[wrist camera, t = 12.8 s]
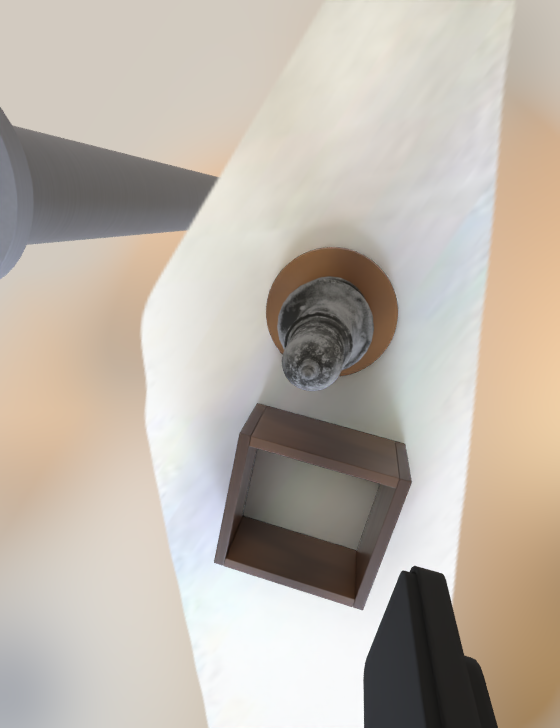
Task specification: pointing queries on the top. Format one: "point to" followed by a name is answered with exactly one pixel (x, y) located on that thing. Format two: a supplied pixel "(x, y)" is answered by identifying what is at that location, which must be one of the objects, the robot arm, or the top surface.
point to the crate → (298, 551)
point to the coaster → (353, 270)
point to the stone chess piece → (323, 331)
